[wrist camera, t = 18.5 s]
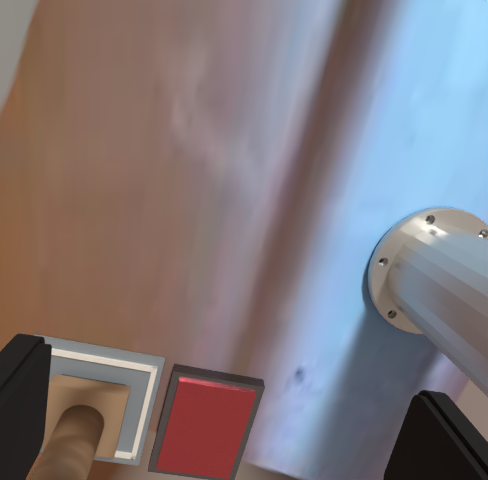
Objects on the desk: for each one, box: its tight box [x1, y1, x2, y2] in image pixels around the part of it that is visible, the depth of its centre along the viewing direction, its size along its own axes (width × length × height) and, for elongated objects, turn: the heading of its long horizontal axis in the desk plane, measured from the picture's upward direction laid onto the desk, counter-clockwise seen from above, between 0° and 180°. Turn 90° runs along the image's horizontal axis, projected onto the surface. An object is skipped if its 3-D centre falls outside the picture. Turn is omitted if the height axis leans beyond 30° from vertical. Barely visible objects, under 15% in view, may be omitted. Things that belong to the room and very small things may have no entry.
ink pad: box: [148, 364, 265, 480], centre depth 40 cm, size 9×12×2 cm
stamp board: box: [34, 334, 165, 466], centre depth 39 cm, size 12×13×1 cm
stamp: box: [30, 374, 131, 480], centre depth 35 cm, size 7×7×9 cm
